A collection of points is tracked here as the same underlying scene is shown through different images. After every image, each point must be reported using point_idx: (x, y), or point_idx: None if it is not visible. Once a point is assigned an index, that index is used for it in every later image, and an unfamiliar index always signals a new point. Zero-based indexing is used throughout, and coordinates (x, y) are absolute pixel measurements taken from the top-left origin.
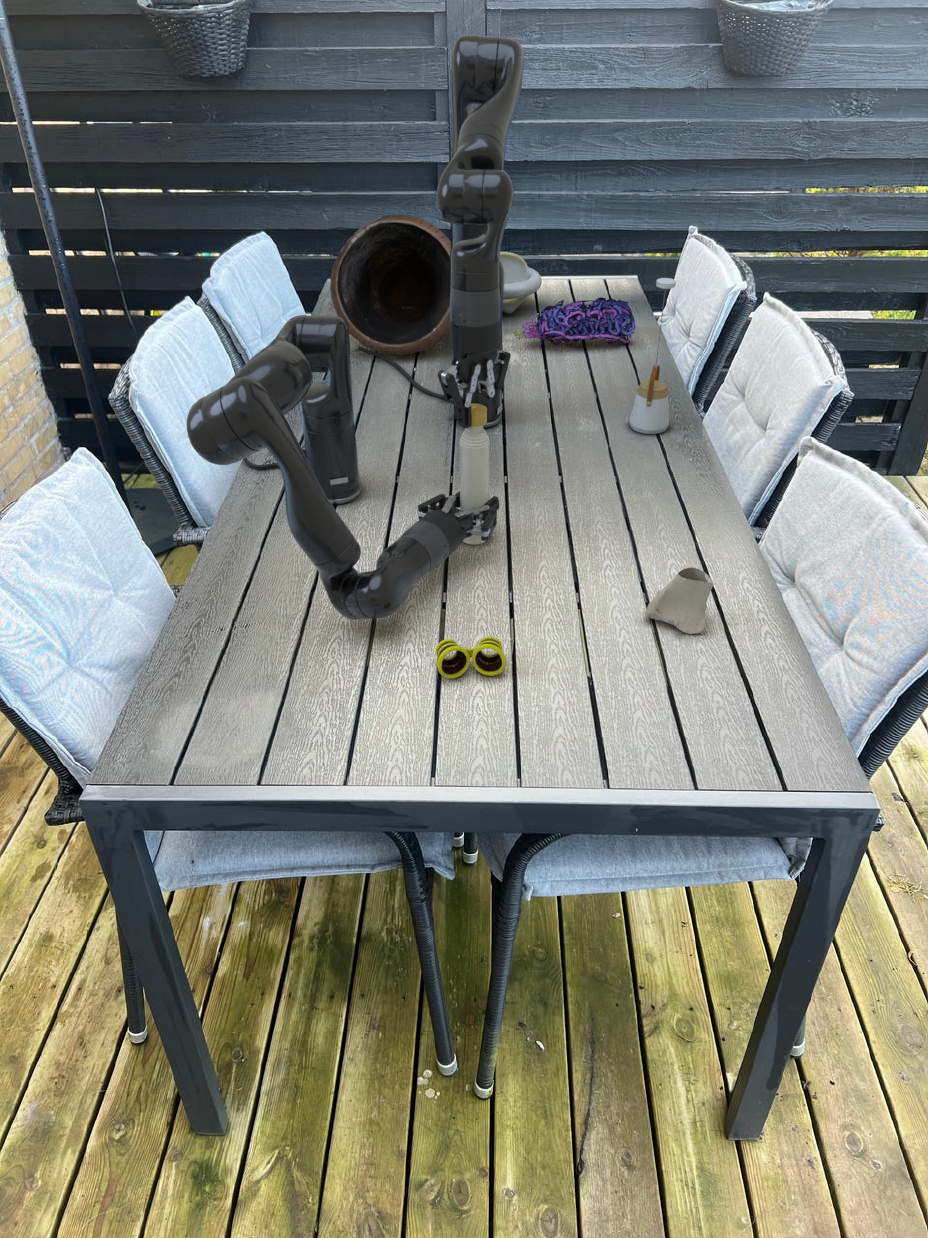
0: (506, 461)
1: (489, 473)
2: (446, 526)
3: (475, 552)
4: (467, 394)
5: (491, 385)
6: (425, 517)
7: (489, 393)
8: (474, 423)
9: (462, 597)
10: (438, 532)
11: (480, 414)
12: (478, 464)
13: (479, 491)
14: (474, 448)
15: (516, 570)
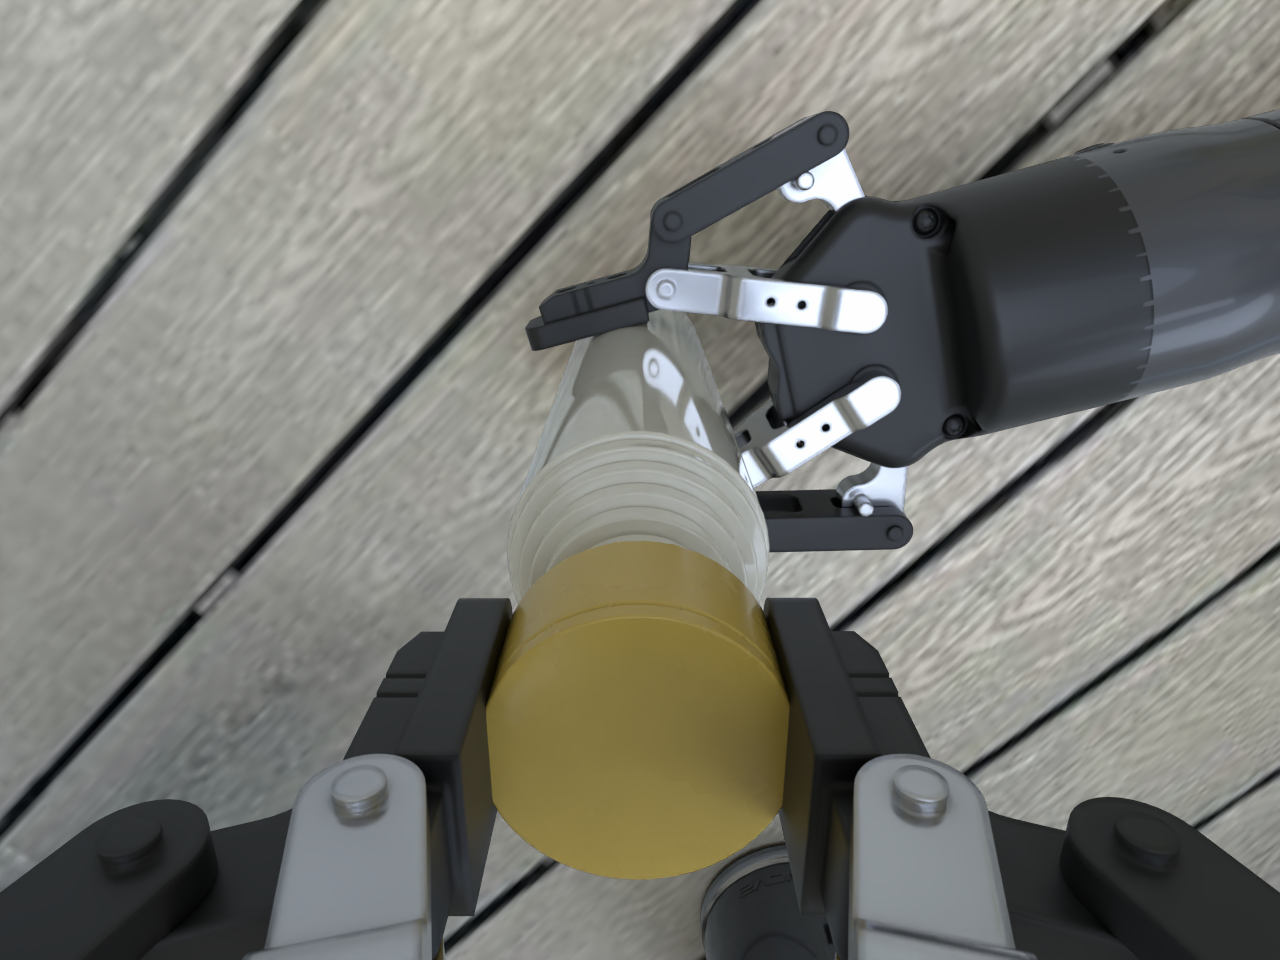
0: (120, 688)
1: (570, 386)
2: (1071, 224)
3: (722, 261)
4: (995, 935)
5: (327, 923)
6: (1101, 364)
7: (419, 812)
8: (744, 592)
9: (1032, 28)
10: (1158, 204)
11: (689, 613)
12: (695, 404)
13: (677, 351)
14: (733, 468)
15: (699, 4)
